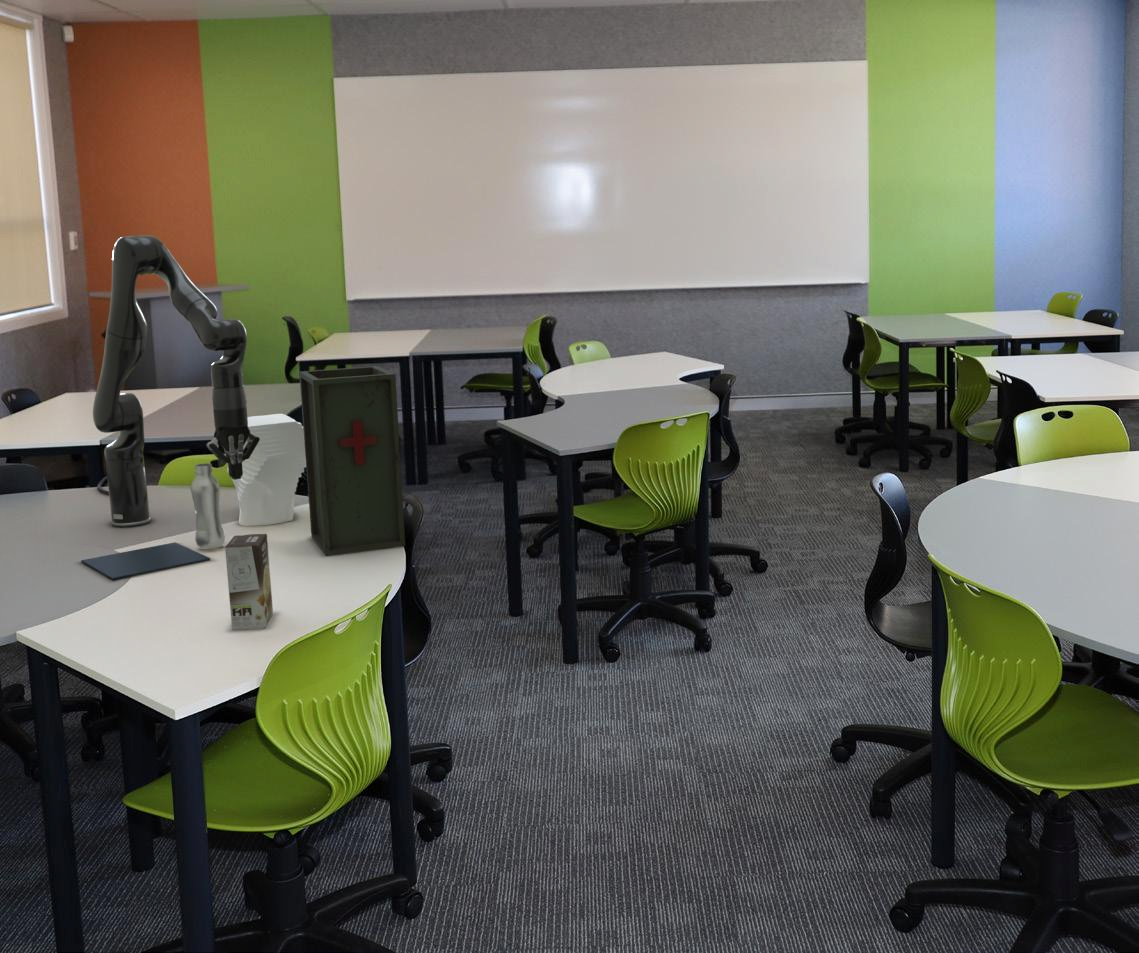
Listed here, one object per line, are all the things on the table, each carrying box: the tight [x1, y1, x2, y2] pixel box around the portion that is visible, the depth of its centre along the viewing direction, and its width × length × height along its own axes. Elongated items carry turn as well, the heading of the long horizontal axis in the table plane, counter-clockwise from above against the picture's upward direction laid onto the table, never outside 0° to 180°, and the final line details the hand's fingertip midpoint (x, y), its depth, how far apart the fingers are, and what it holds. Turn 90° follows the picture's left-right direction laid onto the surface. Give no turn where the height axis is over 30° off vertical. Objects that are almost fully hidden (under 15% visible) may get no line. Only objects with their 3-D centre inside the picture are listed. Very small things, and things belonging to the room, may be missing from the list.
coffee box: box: [224, 533, 274, 631], centre depth 229 cm, size 9×6×16 cm
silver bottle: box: [190, 462, 226, 550], centre depth 283 cm, size 6×7×20 cm
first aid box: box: [298, 365, 406, 557], centre depth 283 cm, size 18×18×40 cm
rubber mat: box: [80, 541, 211, 581], centre depth 275 cm, size 20×22×1 cm
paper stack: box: [226, 413, 306, 527], centre depth 313 cm, size 21×27×26 cm
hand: (236, 478), depth 286 cm, fingers closed
